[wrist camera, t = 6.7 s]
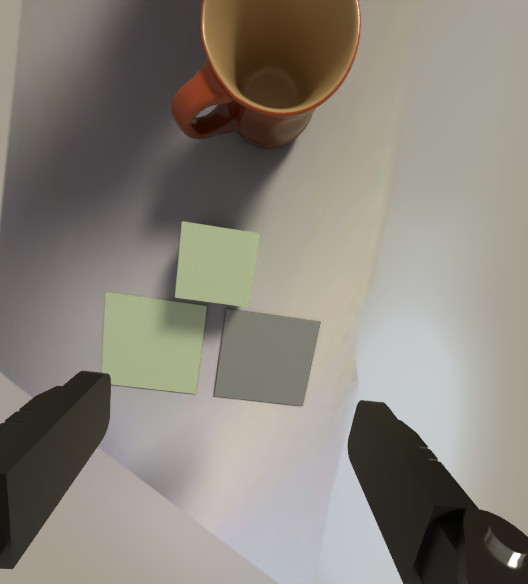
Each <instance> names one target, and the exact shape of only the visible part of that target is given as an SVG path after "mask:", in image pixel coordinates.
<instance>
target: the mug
mask: <svg viewBox="0 0 528 584" xmlns="http://www.w3.org/2000/svg"><path fill="white" fill-rule="evenodd" d="M360 27H361V18H360V6H359V1H358V0H202V3H201V12H200V35H201V41H202V46H203V49H204V52H205V55H206V57H207V62H206V64H205V65H203V66H202V67H201V68H200V69H199V70H198V72H197V73H196V74H195V76H194V77H193V78H192V79H190V80H189V81H188V82H187V83H185V84H184V85H183V86H182V87H181V88H180V89H179V90H178V91H177V92H176V94H175V95H174V97H173V99H172V102H171V112H172V115H173V117H174V119H175V121H176V123H177V124H178V126H179V128H180V129H181V130H182V131H183V133H184V134H185V135H187V136H188V137H190V138H193V139H206V138H210V137H213V136H216V135H220V134H224V133H229V132H232V131H234V130H237V132H238V133H239V134H240V135H241V137H243V139H245V140H246V141H247V142H249V143H251V144H253V145H255V146H257V147H261V148H267V149H272V148H278V147H281V146H284V145H286V144H288V143H290V142H291V141H293V140H294V139H295V138H296V137H297V136H299V135H300V134H301V133H302V132H303V131H304V129H305V128H306V127H307V125H308V123H309V121H310V120H311V117H312V115H313V112H314V110H315V108H316V107H318V106H320V105H321V104H322V103H324V102H325V101H326V100H327V99H329V98H330V97H331V96H332V95H333V94H334V93H335V92H336V91H337V89H338V88H339V87H340V86H341V84H342V83H343V81H344V80H345V78H346V77H347V75H348V73H349V71H350V69H351V67H352V64H353V62H354V59H355V56H356V53H357V49H358V44H359V38H360ZM217 104H219V105H218V106H217V107H216V108H215V109H214V110H213V111H212V112H210V113H209V114H207V115H205V116H202V117H195V116H196V115H197V114H198V113H199V112H201V111H202V110H204V109H205V108H207V107H209V106H212V105H217Z"/></svg>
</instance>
